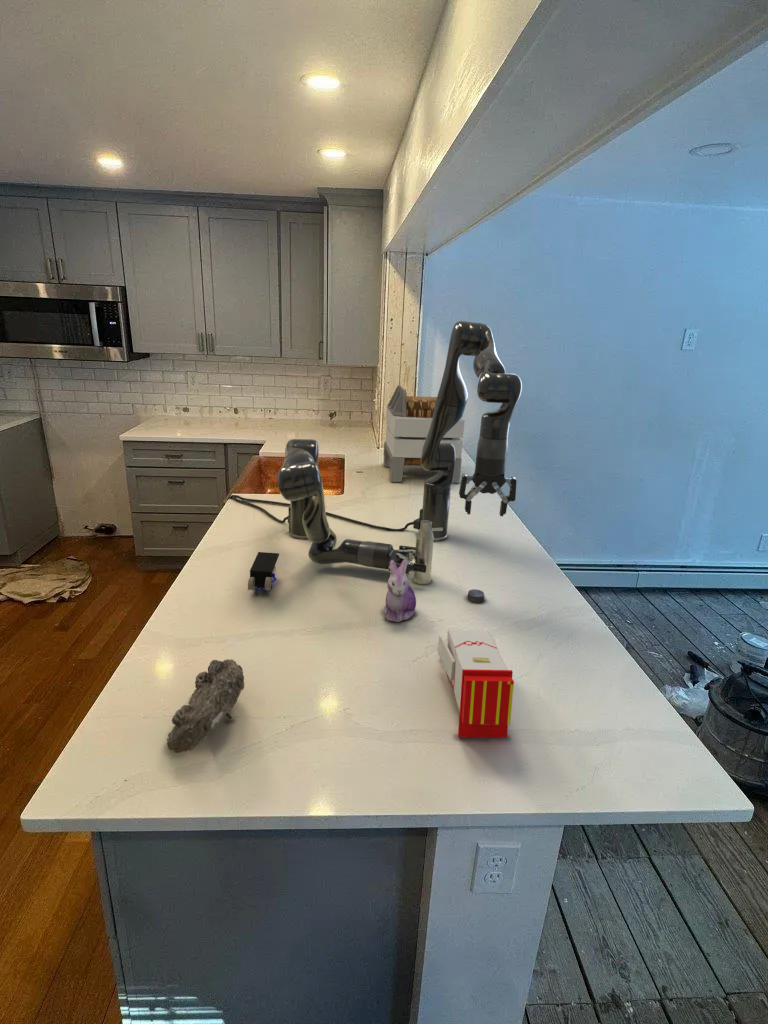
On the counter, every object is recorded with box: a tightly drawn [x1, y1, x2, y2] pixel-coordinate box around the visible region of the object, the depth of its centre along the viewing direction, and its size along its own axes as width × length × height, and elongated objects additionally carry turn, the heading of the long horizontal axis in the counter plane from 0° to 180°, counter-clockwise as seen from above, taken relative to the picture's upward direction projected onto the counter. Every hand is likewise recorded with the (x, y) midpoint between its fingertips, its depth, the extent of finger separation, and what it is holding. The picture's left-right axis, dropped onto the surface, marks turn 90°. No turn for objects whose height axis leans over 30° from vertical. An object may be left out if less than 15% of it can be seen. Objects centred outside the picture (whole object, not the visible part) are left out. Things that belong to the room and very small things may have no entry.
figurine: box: [384, 559, 417, 623], centre depth 145 cm, size 9×10×15 cm
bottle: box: [413, 520, 434, 585], centre depth 163 cm, size 5×5×18 cm
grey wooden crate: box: [383, 384, 465, 484], centre depth 268 cm, size 34×33×41 cm
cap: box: [467, 588, 485, 604], centre depth 157 cm, size 4×4×2 cm
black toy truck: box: [247, 551, 280, 596], centre depth 158 cm, size 7×8×15 cm
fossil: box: [166, 658, 245, 754], centre depth 106 cm, size 22×10×15 cm
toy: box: [437, 628, 515, 738], centre depth 117 cm, size 12×13×30 cm
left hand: (429, 562), depth 164 cm, fingers open, 8 cm apart
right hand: (484, 514), depth 148 cm, fingers open, 8 cm apart
